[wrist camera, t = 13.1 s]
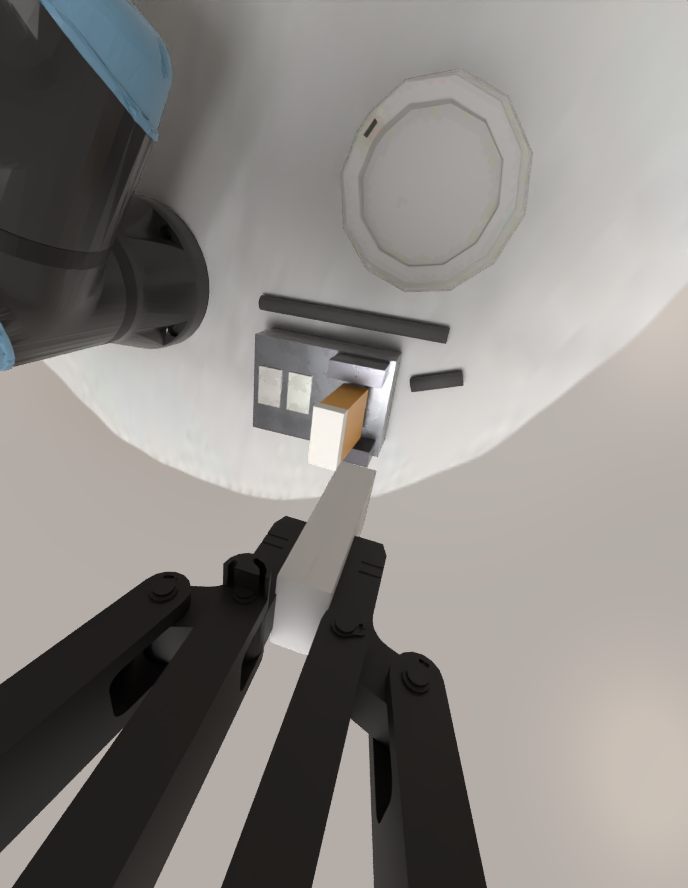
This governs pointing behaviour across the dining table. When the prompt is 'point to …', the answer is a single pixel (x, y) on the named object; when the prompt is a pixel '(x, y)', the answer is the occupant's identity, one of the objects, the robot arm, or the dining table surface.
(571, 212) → the dining table surface
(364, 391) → the lever
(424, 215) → the disposable coffee cup
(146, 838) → the robot arm
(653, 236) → the dining table surface
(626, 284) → the dining table surface
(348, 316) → the dark grey rod
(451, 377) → the dark grey peg
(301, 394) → the labelled grey housing
